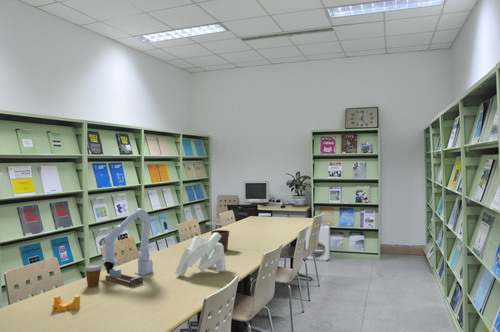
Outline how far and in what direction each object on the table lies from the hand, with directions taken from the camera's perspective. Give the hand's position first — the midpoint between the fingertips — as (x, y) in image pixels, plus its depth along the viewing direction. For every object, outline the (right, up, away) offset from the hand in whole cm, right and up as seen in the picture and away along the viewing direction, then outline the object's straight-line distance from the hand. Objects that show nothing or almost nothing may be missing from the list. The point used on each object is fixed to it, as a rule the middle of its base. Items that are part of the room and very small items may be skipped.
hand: (109, 273), depth 250 cm
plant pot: (+66, -3, +80) cm, 104 cm away
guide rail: (+12, -3, -8) cm, 14 cm away
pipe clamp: (-2, -3, -54) cm, 55 cm away
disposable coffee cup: (-4, -3, -17) cm, 17 cm away
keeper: (+5, -3, -3) cm, 7 cm away
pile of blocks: (+60, -3, +12) cm, 62 cm away
